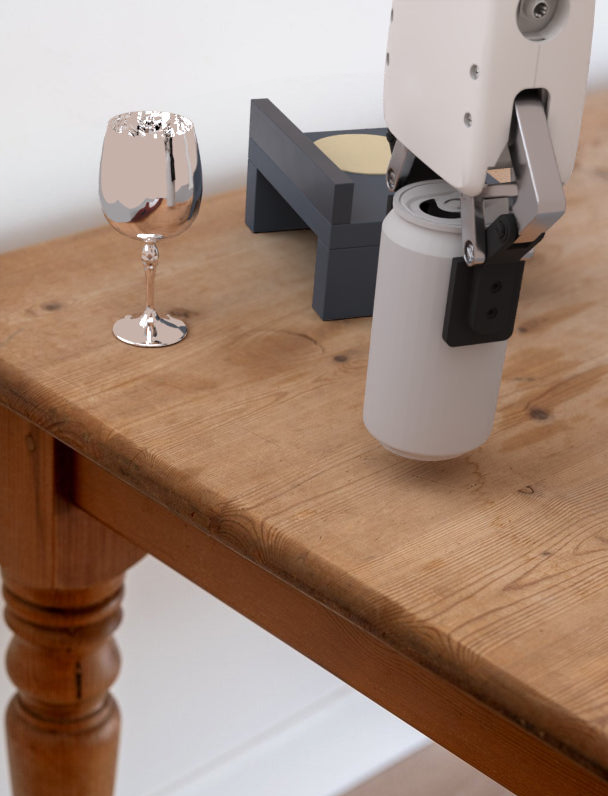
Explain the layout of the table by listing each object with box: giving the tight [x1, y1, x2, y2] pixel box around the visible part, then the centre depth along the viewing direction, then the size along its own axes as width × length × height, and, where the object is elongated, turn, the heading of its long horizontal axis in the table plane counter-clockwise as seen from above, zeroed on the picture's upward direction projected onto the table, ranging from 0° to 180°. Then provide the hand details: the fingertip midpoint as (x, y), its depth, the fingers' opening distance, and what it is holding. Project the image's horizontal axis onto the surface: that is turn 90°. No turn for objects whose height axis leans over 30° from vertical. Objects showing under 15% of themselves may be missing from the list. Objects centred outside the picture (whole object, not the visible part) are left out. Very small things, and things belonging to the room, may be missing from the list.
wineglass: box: [97, 110, 204, 348], centre depth 73 cm, size 6×6×12 cm
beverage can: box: [362, 179, 509, 462], centre depth 61 cm, size 6×6×12 cm
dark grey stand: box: [244, 97, 501, 321], centre depth 84 cm, size 13×16×8 cm
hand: (443, 303), depth 60 cm, fingers closed on beverage can, 6 cm apart
